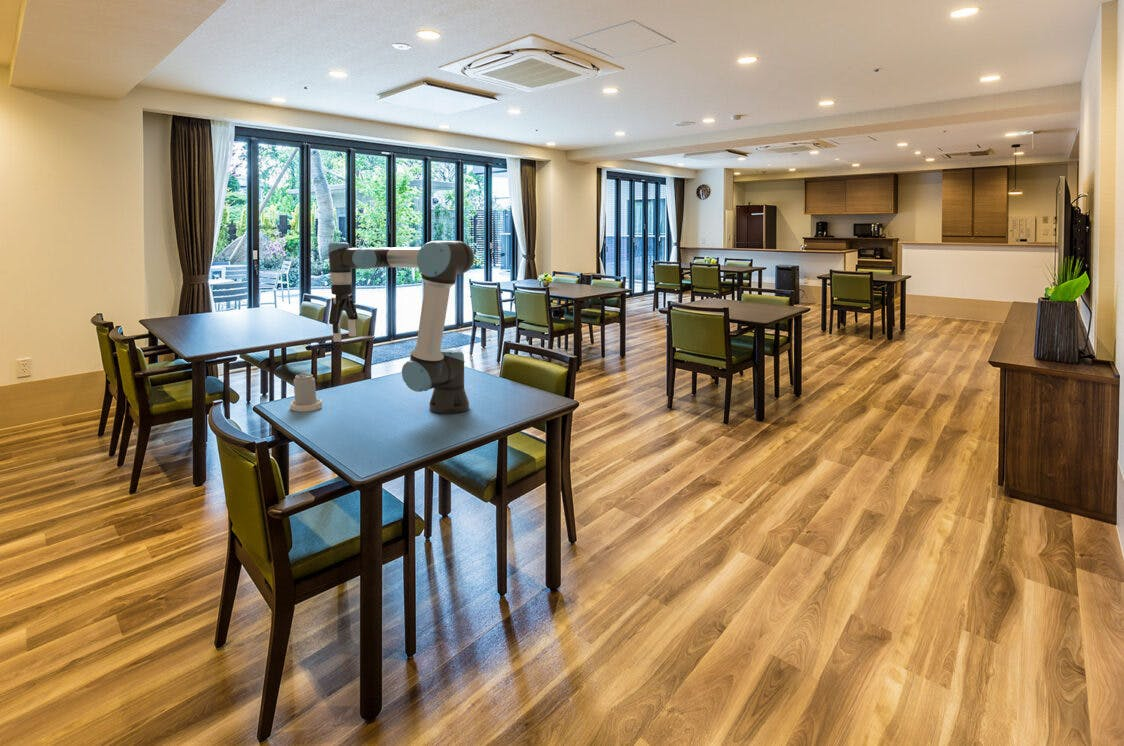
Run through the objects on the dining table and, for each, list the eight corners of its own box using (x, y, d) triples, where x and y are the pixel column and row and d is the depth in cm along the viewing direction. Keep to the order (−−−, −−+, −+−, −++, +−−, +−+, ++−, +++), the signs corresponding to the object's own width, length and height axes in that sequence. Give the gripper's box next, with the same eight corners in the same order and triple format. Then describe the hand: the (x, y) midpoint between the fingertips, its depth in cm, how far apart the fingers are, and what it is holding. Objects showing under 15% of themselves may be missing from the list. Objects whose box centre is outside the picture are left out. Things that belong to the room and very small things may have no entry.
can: (295, 403, 236) (293, 373, 234) (316, 402, 239) (315, 372, 236) (294, 409, 230) (292, 378, 227) (316, 407, 232) (314, 377, 229)
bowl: (327, 404, 239) (327, 398, 239) (312, 412, 229) (312, 406, 228) (300, 403, 241) (300, 397, 240) (285, 410, 230) (284, 404, 229)
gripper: (345, 281, 247) (349, 333, 252) (316, 286, 223) (320, 343, 228) (363, 281, 247) (367, 333, 251) (336, 286, 222) (340, 344, 227)
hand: (345, 338), depth 239 cm, fingers open, 13 cm apart
